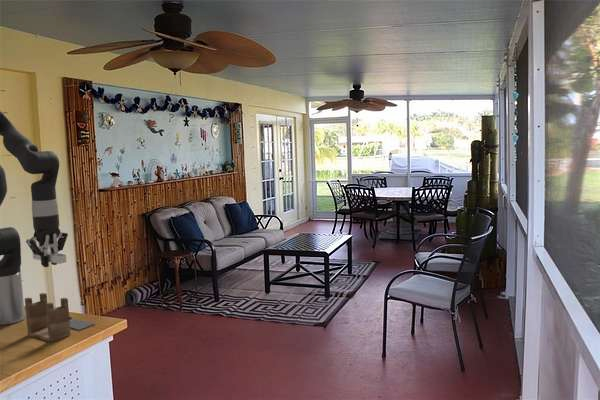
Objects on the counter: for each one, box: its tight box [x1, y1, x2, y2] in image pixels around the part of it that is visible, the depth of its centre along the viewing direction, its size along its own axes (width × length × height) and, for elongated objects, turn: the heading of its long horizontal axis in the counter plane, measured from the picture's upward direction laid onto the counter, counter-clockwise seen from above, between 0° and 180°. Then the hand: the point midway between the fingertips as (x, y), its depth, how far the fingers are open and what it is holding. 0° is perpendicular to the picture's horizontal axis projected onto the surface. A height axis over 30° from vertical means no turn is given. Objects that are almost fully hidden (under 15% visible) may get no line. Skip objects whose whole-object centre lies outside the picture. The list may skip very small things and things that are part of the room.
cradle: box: [24, 292, 72, 343], centre depth 165 cm, size 13×6×12 cm, turn 61°
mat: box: [70, 318, 96, 332], centre depth 174 cm, size 10×6×1 cm, turn 61°
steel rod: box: [32, 251, 67, 265], centre depth 164 cm, size 14×2×2 cm, turn 60°
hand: (49, 265), depth 164 cm, fingers closed on steel rod, 2 cm apart
